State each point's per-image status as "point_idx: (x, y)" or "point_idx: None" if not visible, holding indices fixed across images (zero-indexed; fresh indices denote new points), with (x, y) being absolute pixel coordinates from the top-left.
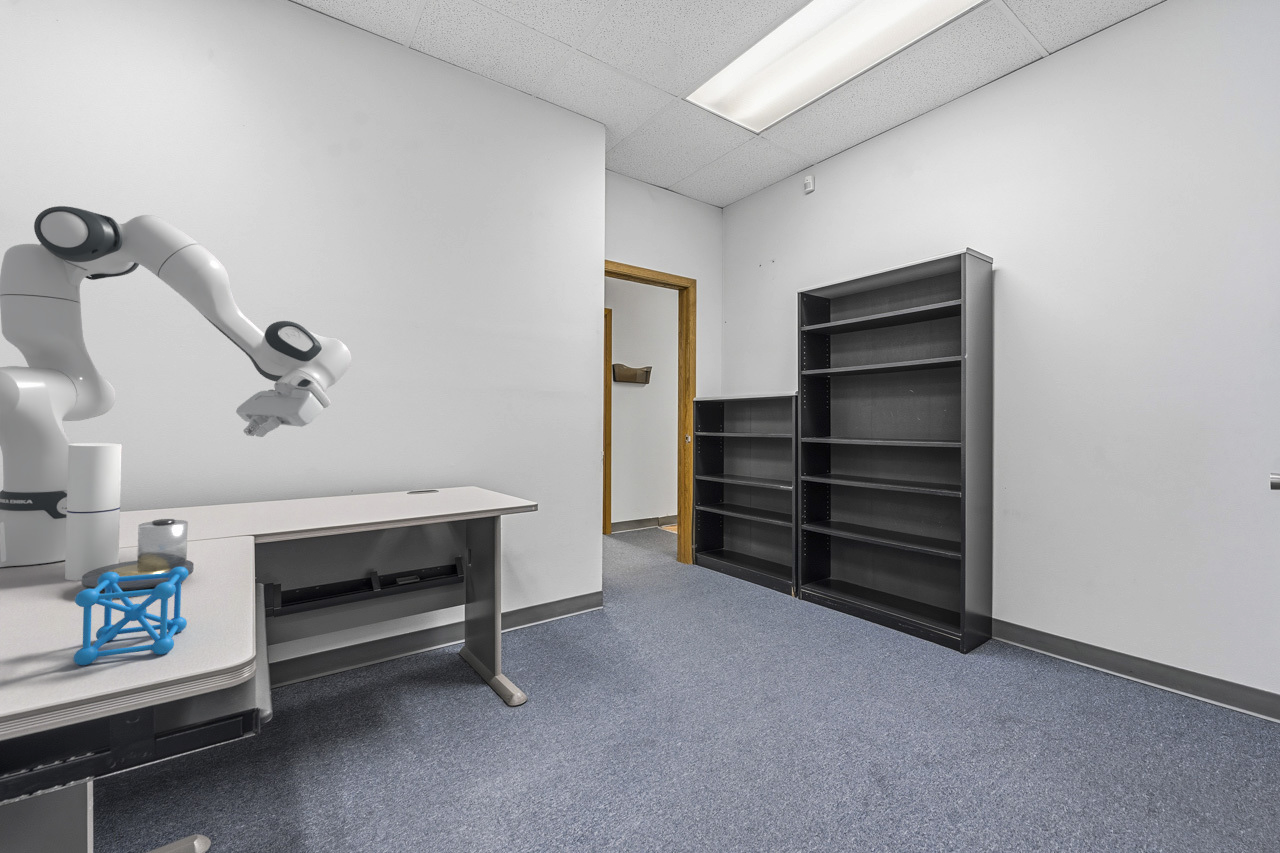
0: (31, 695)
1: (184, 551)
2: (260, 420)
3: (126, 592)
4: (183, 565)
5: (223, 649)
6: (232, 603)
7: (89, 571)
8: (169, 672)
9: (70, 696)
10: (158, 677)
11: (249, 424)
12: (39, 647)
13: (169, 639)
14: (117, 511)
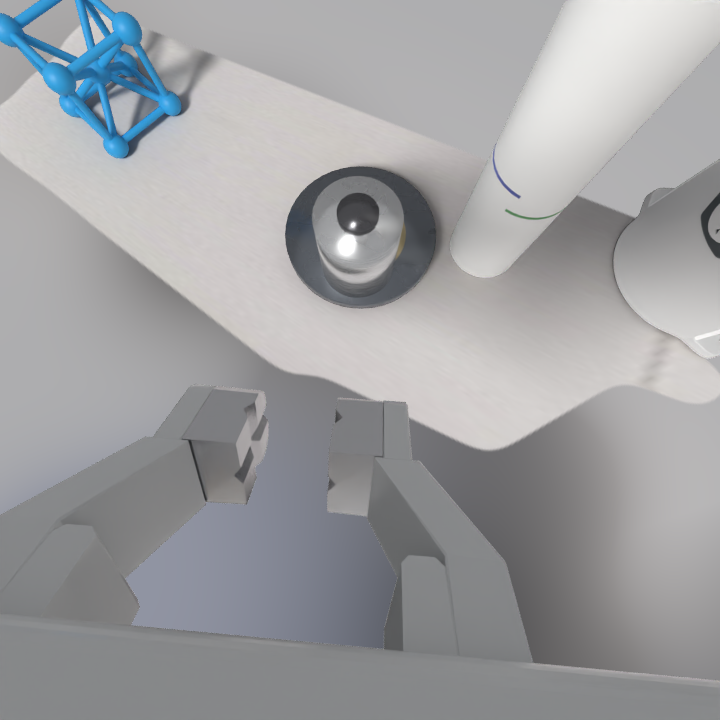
0: (109, 26)
1: (324, 268)
2: (390, 642)
3: (38, 1)
4: (325, 279)
5: (22, 142)
6: (147, 246)
7: (421, 195)
8: (30, 90)
9: (74, 35)
10: (31, 80)
11: (403, 463)
12: (223, 78)
13: (59, 100)
14: (501, 189)
